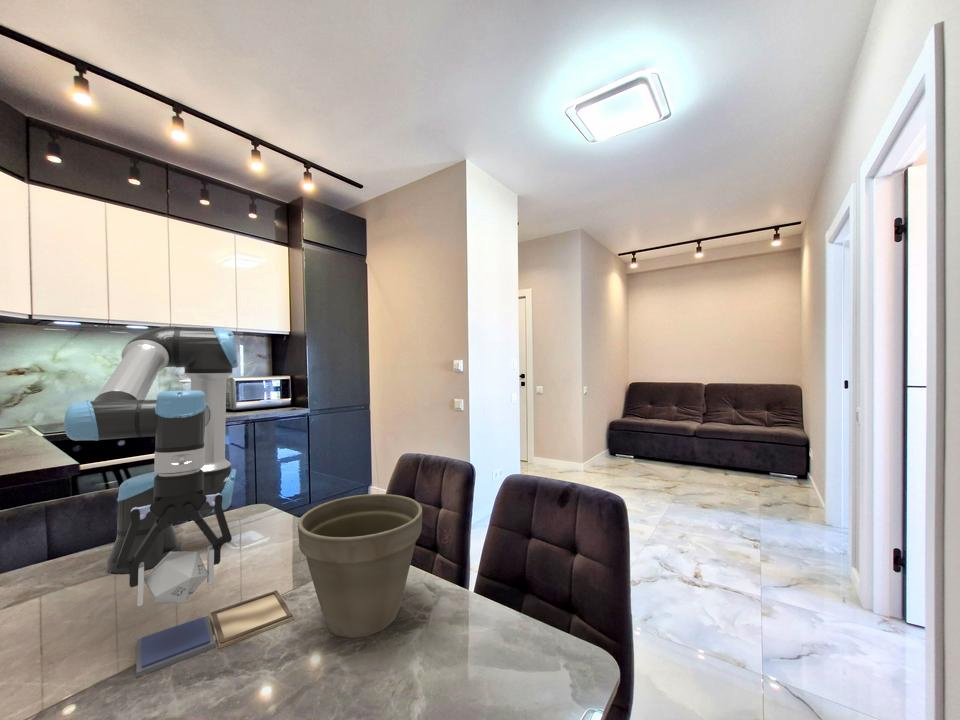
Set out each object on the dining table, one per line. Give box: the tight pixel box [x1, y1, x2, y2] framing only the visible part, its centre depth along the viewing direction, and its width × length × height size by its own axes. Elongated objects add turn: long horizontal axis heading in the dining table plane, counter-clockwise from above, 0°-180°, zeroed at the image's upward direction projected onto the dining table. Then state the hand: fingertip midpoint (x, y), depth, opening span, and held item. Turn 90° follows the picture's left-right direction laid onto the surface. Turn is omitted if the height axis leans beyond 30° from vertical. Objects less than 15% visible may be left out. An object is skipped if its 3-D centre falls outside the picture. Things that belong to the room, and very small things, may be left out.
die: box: [144, 550, 209, 604], centre depth 73 cm, size 8×9×10 cm
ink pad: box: [135, 615, 216, 678], centre depth 73 cm, size 11×11×1 cm
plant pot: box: [297, 493, 423, 639], centre depth 82 cm, size 25×25×22 cm
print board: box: [209, 590, 295, 650], centre depth 81 cm, size 13×13×1 cm
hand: (176, 591), depth 73 cm, fingers closed on die, 10 cm apart
